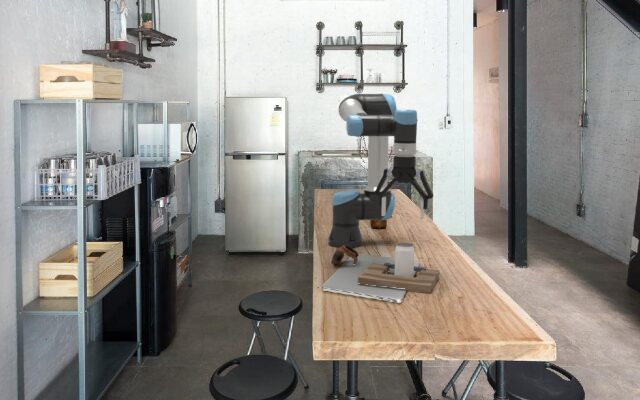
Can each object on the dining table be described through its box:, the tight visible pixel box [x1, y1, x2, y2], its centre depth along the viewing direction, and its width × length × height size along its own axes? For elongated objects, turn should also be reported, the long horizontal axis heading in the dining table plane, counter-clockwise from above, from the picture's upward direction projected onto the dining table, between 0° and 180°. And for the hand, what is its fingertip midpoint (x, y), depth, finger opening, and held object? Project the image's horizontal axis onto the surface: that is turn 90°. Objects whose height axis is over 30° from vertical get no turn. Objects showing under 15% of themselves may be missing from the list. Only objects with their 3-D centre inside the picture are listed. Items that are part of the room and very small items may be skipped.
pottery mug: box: [331, 245, 360, 266], centre depth 200 cm, size 12×10×8 cm
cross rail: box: [383, 262, 427, 273], centre depth 188 cm, size 2×15×3 cm, turn 68°
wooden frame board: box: [357, 263, 440, 294], centre depth 180 cm, size 18×24×2 cm
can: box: [394, 242, 415, 277], centre depth 182 cm, size 6×6×12 cm
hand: (402, 216), depth 183 cm, fingers open, 13 cm apart
